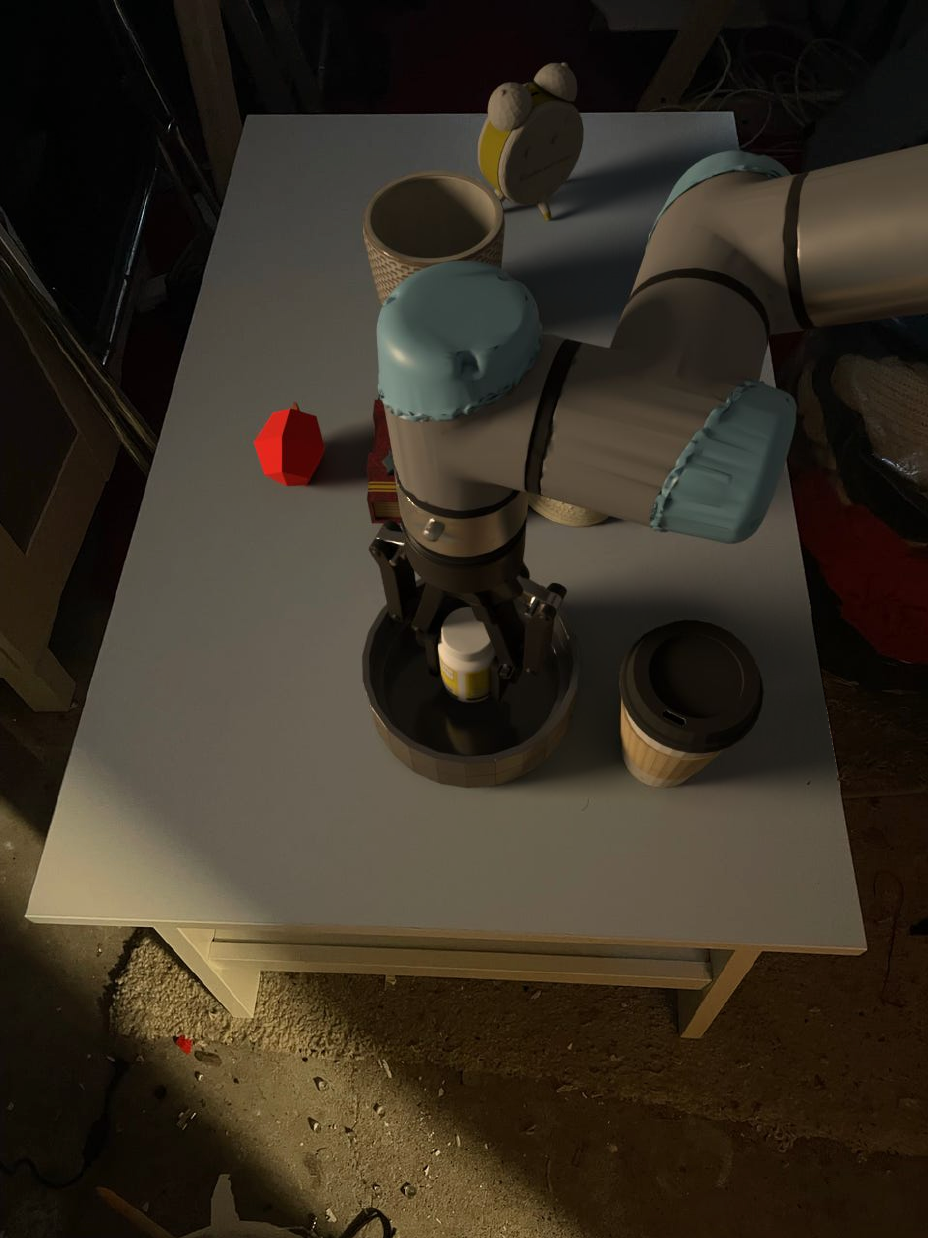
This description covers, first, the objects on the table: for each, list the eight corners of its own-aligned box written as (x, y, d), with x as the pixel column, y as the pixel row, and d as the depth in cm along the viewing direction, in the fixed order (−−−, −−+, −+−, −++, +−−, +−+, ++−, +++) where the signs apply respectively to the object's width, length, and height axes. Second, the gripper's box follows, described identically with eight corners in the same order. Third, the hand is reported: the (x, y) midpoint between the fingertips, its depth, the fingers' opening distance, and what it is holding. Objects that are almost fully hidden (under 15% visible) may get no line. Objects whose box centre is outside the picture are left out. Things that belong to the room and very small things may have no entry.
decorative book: (369, 527, 85) (362, 496, 80) (383, 398, 92) (378, 363, 88) (488, 529, 84) (488, 498, 80) (493, 399, 92) (493, 364, 87)
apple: (304, 475, 81) (316, 391, 82) (238, 474, 83) (250, 392, 84) (335, 497, 88) (346, 419, 88) (274, 494, 89) (284, 418, 90)
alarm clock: (554, 173, 109) (562, 44, 96) (588, 202, 106) (602, 74, 93) (475, 210, 106) (473, 83, 93) (509, 241, 103) (511, 115, 90)
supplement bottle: (506, 660, 74) (508, 611, 67) (490, 711, 72) (490, 666, 64) (451, 645, 75) (447, 595, 67) (433, 695, 73) (427, 649, 65)
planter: (525, 297, 99) (529, 192, 87) (466, 382, 93) (463, 281, 82) (415, 259, 102) (406, 154, 91) (353, 339, 96) (334, 237, 85)
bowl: (602, 647, 78) (611, 611, 72) (524, 824, 71) (527, 800, 65) (426, 578, 82) (421, 539, 76) (335, 739, 74) (322, 709, 69)
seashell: (637, 520, 81) (567, 510, 77) (580, 536, 89) (513, 527, 85) (636, 434, 82) (566, 419, 78) (579, 457, 90) (513, 444, 85)
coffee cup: (738, 730, 74) (792, 650, 61) (690, 832, 70) (736, 770, 57) (631, 677, 76) (659, 588, 63) (578, 772, 73) (597, 699, 59)
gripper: (301, 506, 53) (353, 672, 73) (581, 615, 49) (553, 758, 70) (361, 417, 56) (395, 599, 77) (628, 512, 52) (589, 678, 73)
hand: (470, 674), depth 73 cm, fingers closed on supplement bottle, 5 cm apart
